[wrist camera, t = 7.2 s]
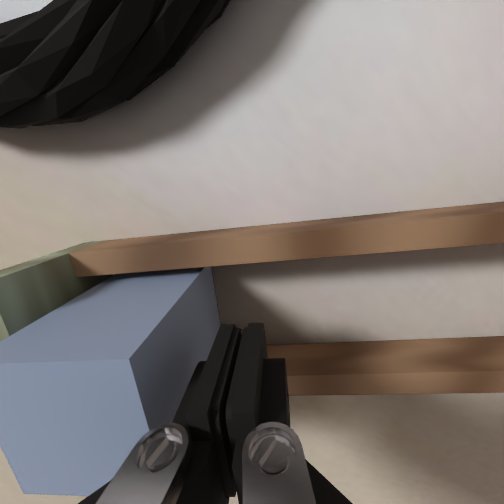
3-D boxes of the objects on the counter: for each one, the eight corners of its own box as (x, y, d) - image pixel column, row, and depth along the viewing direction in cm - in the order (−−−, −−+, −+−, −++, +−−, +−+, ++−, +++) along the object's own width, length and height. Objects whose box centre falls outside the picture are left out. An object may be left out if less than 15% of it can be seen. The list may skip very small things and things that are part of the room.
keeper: (209, 261, 14) (128, 358, 6) (223, 339, 15) (168, 499, 8) (125, 268, 15) (-40, 364, 7) (145, 343, 16) (23, 493, 8)
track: (596, 192, 11) (920, 206, 6) (558, 353, 14) (764, 481, 8) (83, 242, 15) (-44, 284, 9) (120, 367, 17) (38, 465, 11)
